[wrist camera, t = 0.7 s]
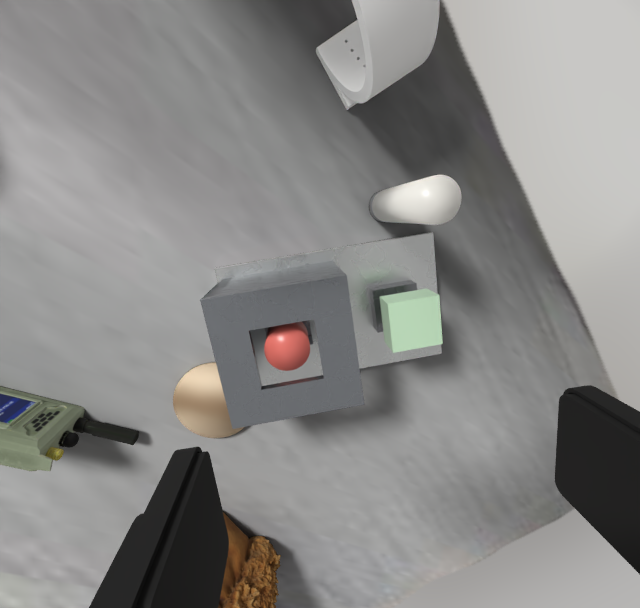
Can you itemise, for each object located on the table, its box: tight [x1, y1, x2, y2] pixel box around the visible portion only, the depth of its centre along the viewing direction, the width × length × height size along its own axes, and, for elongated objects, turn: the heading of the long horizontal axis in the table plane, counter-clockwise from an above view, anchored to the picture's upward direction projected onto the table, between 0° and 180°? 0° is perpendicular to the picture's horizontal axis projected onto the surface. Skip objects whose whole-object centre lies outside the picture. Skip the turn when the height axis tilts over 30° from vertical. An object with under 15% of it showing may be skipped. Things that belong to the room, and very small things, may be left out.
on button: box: [380, 288, 443, 353], centre depth 29 cm, size 4×4×4 cm
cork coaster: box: [173, 362, 244, 438], centre depth 35 cm, size 8×8×1 cm
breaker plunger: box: [264, 322, 310, 371], centre depth 28 cm, size 3×3×4 cm
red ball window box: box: [200, 232, 442, 429], centre depth 29 cm, size 12×20×9 cm, turn 99°
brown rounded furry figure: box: [218, 512, 281, 608], centre depth 33 cm, size 10×14×13 cm
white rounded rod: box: [369, 175, 462, 225], centre depth 26 cm, size 3×3×12 cm
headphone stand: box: [316, 0, 440, 110], centre depth 23 cm, size 5×6×12 cm
